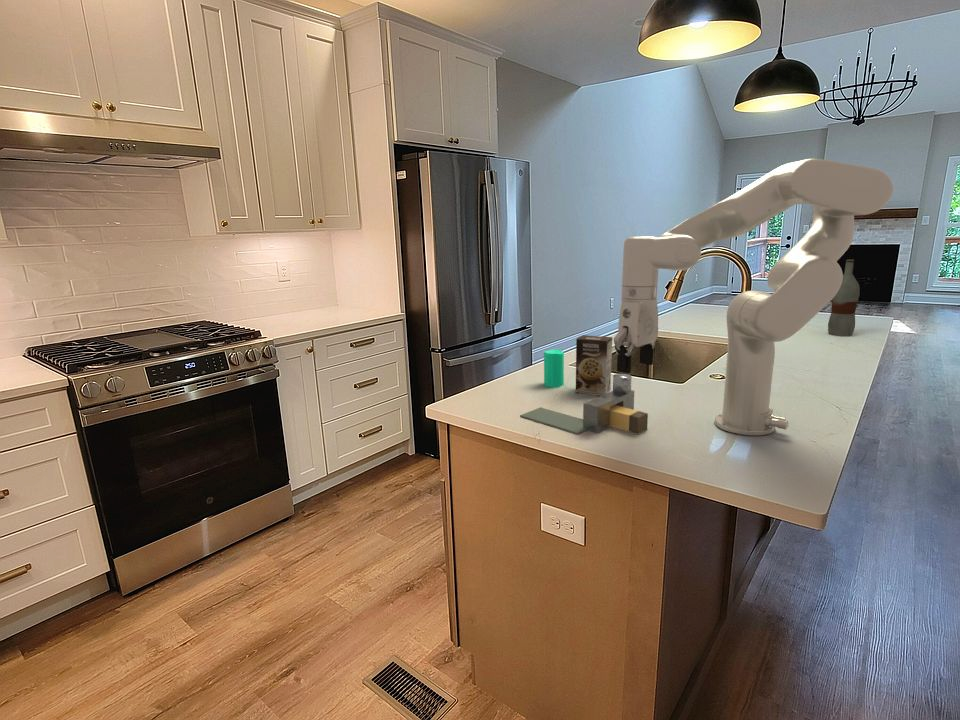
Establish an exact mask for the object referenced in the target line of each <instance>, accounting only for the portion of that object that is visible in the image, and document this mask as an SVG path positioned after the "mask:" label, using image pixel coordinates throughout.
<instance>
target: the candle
mask: <svg viewBox="0 0 960 720" xmlns="http://www.w3.org/2000/svg"><path fill="white" fill-rule="evenodd" d="M564 354H565V352H564V351H562V350H561V349H548V350H546V351H543V385H544V387H546V388H552V387H555V388H561V387H560V386H562V385H563V386H564V384H565V380H564V379H565V378H564V377H565V376H564V375H565V373H564V370H565V364H564V363H565V361H564V360H565V356H564ZM563 386H562V387H563Z"/></svg>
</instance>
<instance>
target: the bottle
mask: <svg viewBox="0 0 960 720" xmlns="http://www.w3.org/2000/svg"><path fill="white" fill-rule="evenodd" d="M854 262H855V259H846V260H845V267H844V273H843V279H842V284H841V287H840V289H839V291H838V292H837V294H836V295H835V297H834V298H833V299H832V300H831V313H830V315H829V318H828V323H827V331H828V335H830V336H834V337H851V336H853V334H854V332H855V328H856V311H857V306H858V301H859V297H860V291H861V289H860V284H859V282H858V281H857V279H856V278H855V275H854V274H853V271H854Z"/></svg>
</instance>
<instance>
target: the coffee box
mask: <svg viewBox="0 0 960 720" xmlns="http://www.w3.org/2000/svg"><path fill="white" fill-rule="evenodd" d="M613 340H614V338H613V337H612V336H601V335H600V336H599V335H598V336H597V335H585V334H583V335H580V336H578V337H577V338H576V343H575V344H576V346H575V349H576V350H575V353H576V354H575V355H576V356H575V357H576V358H575V393H577V392H579V393H578V394H586V395H587V394H588V395H596V396H602V395H604V394H607V393H609V392H611V390H612V389H611V383H612V382H611V381H612V360H613V357H612V353H613Z"/></svg>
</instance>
